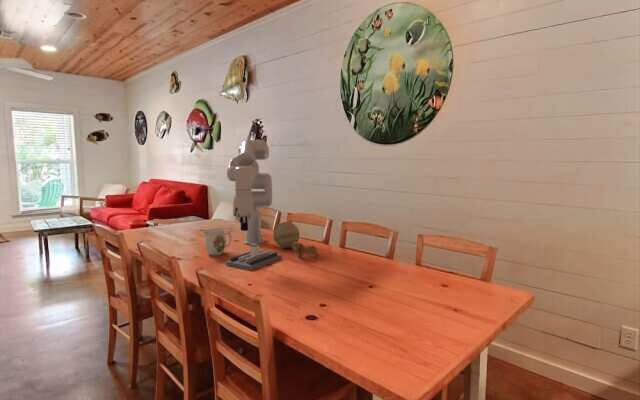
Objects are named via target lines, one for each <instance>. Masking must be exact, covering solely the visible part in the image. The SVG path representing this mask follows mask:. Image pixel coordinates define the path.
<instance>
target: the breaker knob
mask: <svg viewBox="0 0 640 400" xmlns="http://www.w3.org/2000/svg"><path fill="white" fill-rule="evenodd" d="M259 246H260V244H256V243H253V244H249V252H250V257H252V256H255V255H258V254H259V250H260V248H259Z"/></svg>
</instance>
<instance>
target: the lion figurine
mask: <svg viewBox="0 0 640 400" xmlns="http://www.w3.org/2000/svg"><path fill="white" fill-rule="evenodd" d="M291 248H292V251H294V252H295V253H296V254H298V257H297V258H298V259H299V260H303V255H304V254H308V253H310V255H309V258H312V257H313V256H315V257H314V258H315V259H318V257H320V255H319V254H318V249H317V248H316V247H315V246H314V245H312V244H311V245H304V244H302V243H301V242H299V241H298V242H294V243H293V246H292V247H291Z"/></svg>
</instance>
